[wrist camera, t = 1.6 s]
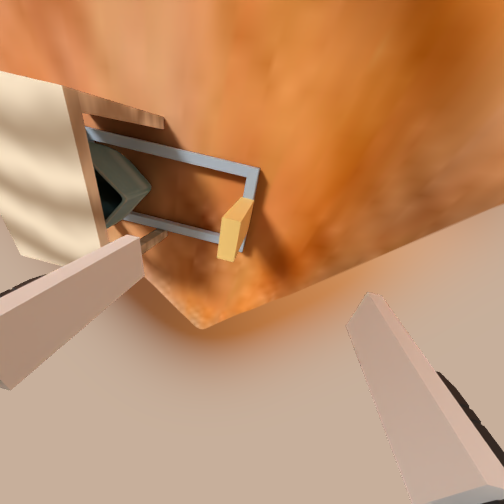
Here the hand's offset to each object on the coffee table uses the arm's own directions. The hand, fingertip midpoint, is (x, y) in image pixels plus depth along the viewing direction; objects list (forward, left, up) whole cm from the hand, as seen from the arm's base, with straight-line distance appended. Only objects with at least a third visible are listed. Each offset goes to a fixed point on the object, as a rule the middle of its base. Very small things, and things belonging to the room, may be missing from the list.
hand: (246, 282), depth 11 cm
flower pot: (+2, -23, -22) cm, 32 cm away
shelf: (+2, -23, -21) cm, 32 cm away
